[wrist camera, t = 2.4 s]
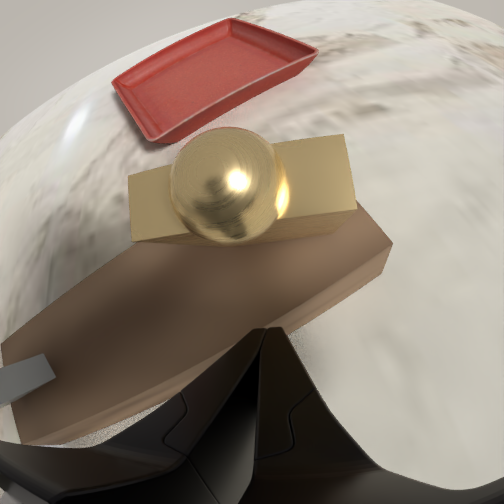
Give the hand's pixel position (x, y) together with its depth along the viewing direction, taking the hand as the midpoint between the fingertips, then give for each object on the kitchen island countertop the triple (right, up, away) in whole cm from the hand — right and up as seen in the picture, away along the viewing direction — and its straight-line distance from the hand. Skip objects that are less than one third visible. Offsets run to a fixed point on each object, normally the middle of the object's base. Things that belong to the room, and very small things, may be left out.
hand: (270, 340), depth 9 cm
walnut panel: (-6, -2, +10) cm, 12 cm away
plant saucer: (-5, +21, +22) cm, 31 cm away
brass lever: (+1, +4, +7) cm, 8 cm away
